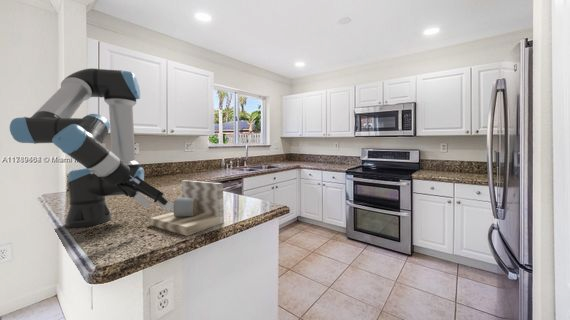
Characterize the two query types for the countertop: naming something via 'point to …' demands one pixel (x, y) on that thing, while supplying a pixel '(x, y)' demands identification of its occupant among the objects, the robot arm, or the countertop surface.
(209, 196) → the wall shelf
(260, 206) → the countertop surface
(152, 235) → the countertop surface
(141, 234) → the countertop surface
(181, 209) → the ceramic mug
